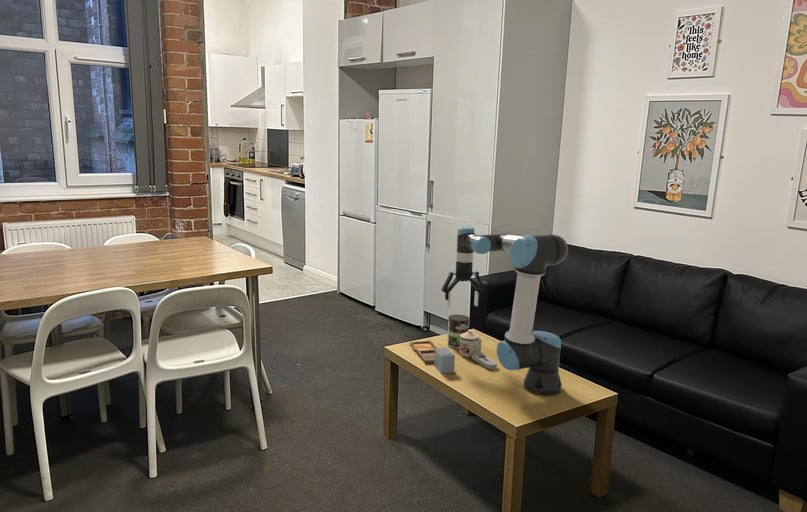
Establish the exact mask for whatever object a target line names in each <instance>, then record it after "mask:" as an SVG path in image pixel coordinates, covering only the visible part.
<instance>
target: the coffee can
mask: <svg viewBox="0 0 807 512" xmlns="http://www.w3.org/2000/svg"><path fill="white" fill-rule="evenodd" d="M447 325H448V326H447V343H446V345H447V346H448V347H449V348H451V349H459V350H460V335H461V334H462V333H466V332H468V330H470V328H469V327H470V317H469V316H467V315H465V314H464V315H463V314H450V315H449V316H448V324H447Z"/></svg>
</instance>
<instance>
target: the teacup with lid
mask: <svg viewBox="0 0 807 512" xmlns="http://www.w3.org/2000/svg"><path fill="white" fill-rule="evenodd" d="M478 339H480V336H479V335H478V334H477V333H474V332H473V331H472V330H471V329H469V330H468V332H466V333H462V334H461V335H460V349H459V355H461V357H465V358H472V354H473V353H475V352H476V350H477V342H478Z"/></svg>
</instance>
